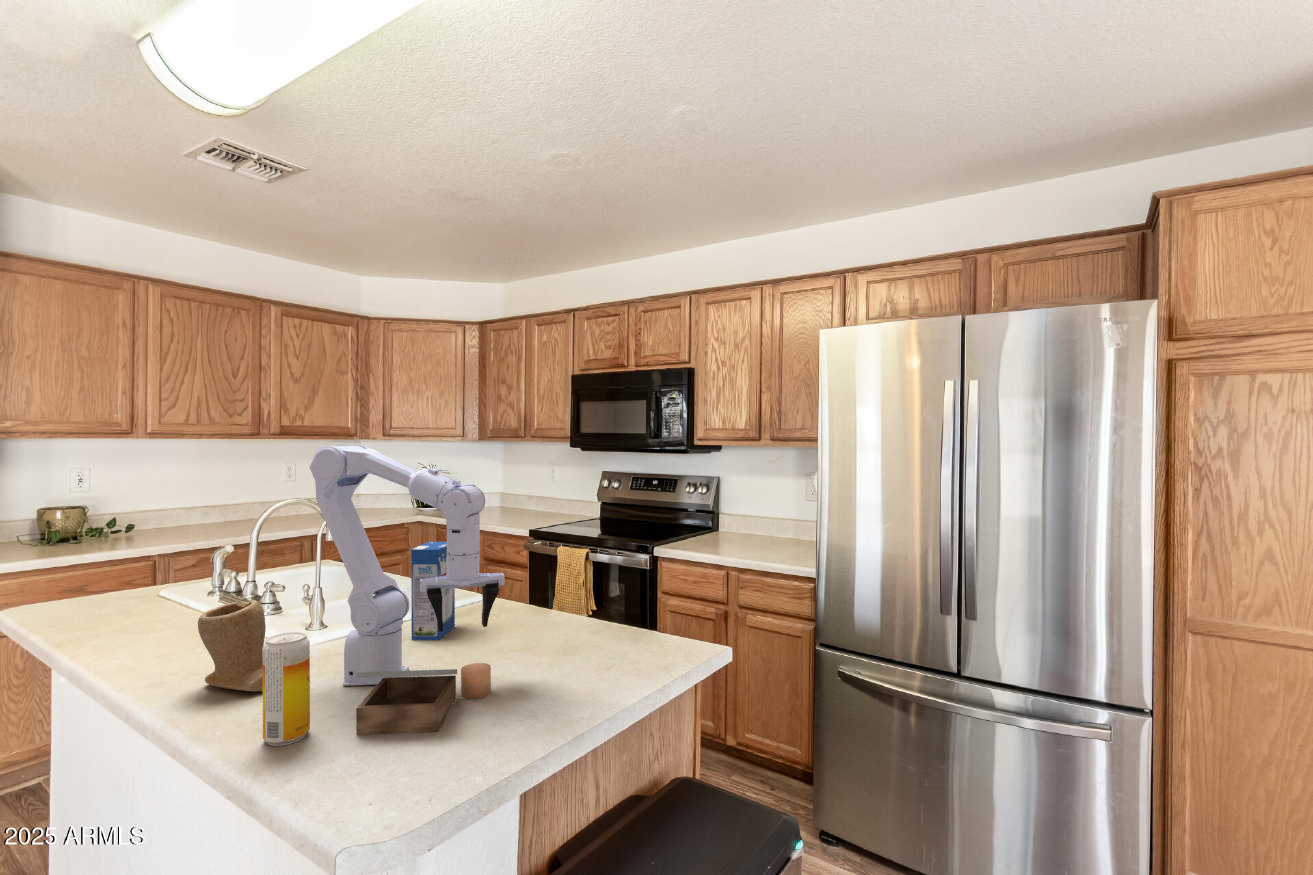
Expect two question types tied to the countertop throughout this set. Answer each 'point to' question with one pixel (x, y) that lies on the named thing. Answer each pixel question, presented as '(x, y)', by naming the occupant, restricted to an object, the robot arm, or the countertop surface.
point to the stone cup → (235, 644)
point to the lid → (405, 673)
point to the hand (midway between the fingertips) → (462, 627)
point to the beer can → (286, 688)
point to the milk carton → (426, 564)
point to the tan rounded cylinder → (475, 681)
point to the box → (406, 705)
